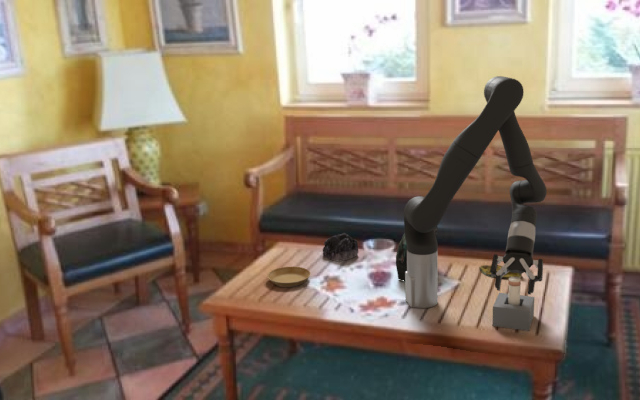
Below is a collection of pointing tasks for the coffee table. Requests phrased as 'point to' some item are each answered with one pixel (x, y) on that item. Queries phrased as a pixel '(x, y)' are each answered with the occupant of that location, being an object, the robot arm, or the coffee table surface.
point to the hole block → (513, 312)
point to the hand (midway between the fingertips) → (513, 291)
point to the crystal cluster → (340, 247)
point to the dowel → (514, 291)
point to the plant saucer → (289, 276)
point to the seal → (486, 271)
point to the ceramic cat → (404, 257)
